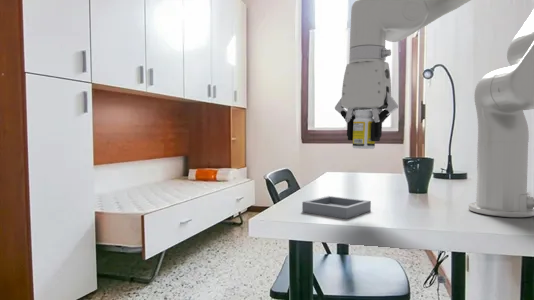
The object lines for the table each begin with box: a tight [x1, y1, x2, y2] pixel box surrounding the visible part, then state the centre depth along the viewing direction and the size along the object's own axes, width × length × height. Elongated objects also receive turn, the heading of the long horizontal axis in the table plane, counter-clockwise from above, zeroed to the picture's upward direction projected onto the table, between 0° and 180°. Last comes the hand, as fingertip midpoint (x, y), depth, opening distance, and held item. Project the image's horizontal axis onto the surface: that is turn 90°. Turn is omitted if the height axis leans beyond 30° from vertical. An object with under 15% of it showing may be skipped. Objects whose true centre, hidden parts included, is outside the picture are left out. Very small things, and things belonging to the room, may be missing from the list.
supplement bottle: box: [352, 110, 376, 150], centre depth 84 cm, size 5×5×8 cm
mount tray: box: [301, 195, 372, 220], centre depth 85 cm, size 11×11×2 cm
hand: (363, 139), depth 84 cm, fingers closed on supplement bottle, 4 cm apart
